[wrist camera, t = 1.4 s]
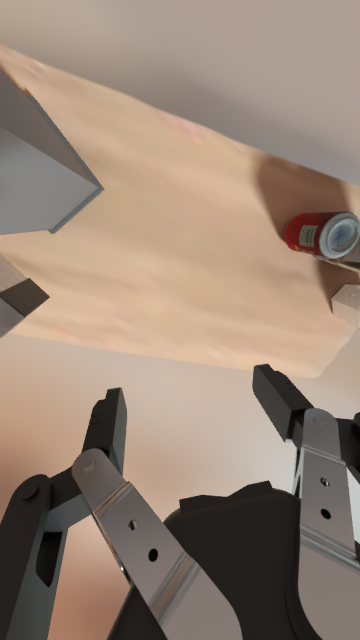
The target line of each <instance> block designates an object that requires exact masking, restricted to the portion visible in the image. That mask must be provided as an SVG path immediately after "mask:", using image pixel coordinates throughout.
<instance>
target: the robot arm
mask: <svg viewBox="0 0 360 640" xmlns="http://www.w3.org/2000/svg"><path fill="white" fill-rule="evenodd" d="M12 329H13V328H12ZM12 329H11V330H12ZM11 330H10V331H11ZM7 333H8V332H7ZM7 333H6V334H7ZM6 334H5V335H6ZM2 337H3V336H2ZM2 337H1V338H2ZM252 386H253V391H254V394H255V396H256V398H257V399H258V401H259V402H260V404H261V405H262V407H263V409H264V410H265V412H266V414H267V415H268V417H269V418H270V420H271V422H272V423H273V425H274V426H275V428H276V430H277V431H278V432H279V434H280V436H281V438H282V439H283V441H284V442H285V443H289V442H293V443H294V444H295V446H296V447H297V449H296V457H295V469H294V480H293V488H292V494H290V493H288V492H286V491H283V490H279V489H275V488H272V486H271V484H270V482H269V481H264V482H260V483H255V484H250V485H247V486H245V487H243V488H242V489H240V490H238V491H237V492H235V493H233V494H232V495H230V496H228V497H221V496H209V495H199V496H194V497H190V498H185V499H180V500H179V502H180V508H179V509H177V510H175V511H174V512H173V513H172V514H170V515H169V516H168V517H167V518H166V520H165V521H164V522H161V520H160V519H159V517H158V516H157V515H156V514H155V512H154V511H153V510H152V509H151V507H150V506H149V505H148V503H147V502H146V501H145V500H144V499H143V497H142V496H141V495H140V493H139V492H138V491H137V489H136V488H135V487H134V486H133V485H132V483H130V482H129V481H128V482H126V481H125V480H124V478H123V477H122V476H123V463H124V449H125V437H126V425H127V424H126V423H127V408H126V404H125V400H124V396H123V391H122V388H120V387H119V388H113V389H108V390H107V394H106V398H105V399H104V400H99V401H98V402H97V403H96V405H95V406H94V407H93V410H92V414H91V418H90V422H89V426H88V430H87V433H86V437H85V441H84V445H83V449H82V452H81V454H80V455H79V456H78V457H77V458H76V460H75V461H74V463H73V465H72V466H71V467H70V468H68V469H67V470H65V471H63V472H61V473H59V474H57V475H55V476H53V477H51V478H48V477H47V476H46V475H43V474H39V475H35V476H32V477H30V478H28V479H27V480H25V481H24V482H23V483H22V484H21V485H20V486H19V487H18V488H17V489H16V490H15V492H14V493H13V495H12V497H11V500H10V502H9V505H8V507H7V509H6V512H5V514H4V516H3V519H2V521H1V524H0V640H47V637H48V632H49V626H50V621H51V616H52V611H53V606H54V600H55V595H56V589H57V585H58V580H59V574H60V569H61V564H62V558H63V553H64V548H65V542H66V537H67V532H68V528H69V527H70V526H72V525H74V524H75V523H77V522H79V521H80V520H82V519H84V518H86V517H87V516H89V515H92V517H93V519H94V521H95V522H96V525H97V526H98V528H99V530H100V532H101V533H102V535H103V537H104V539H105V541H106V543H107V544H108V546H109V548H110V550H111V552H112V554H113V555H114V557H115V559H116V561H117V563H118V565H119V567H120V569H121V571H122V572H123V574H124V576H125V578H126V580H127V581H128V583H129V585H130V587H131V588H130V590H129V592H128V595H127V597H126V599H125V601H124V603H123V605H122V607H121V609H120V612H119V614H118V616H117V618H116V620H115V622H114V625H113V627H112V629H111V631H110V633H109V635H108V637H107V639H106V640H360V544H359V543H358V542H357V541H355V540H354V534H353V525H352V516H351V506H350V497H349V487H348V478H347V469H346V467H347V468H348V469H349V471H350V472H351V473H352V475H353V476H354V477H355V479H356V480H357V481H358V483H359V484H360V412H359V413H357V414H356V415H355V416H354V419H353V420H350V419H340V418H334V417H333V416H332V415H331V414H330V413H328V412H327V411H325V410H322V409H318V408H314V407H313V405H312V404H311V403H310V402H309V401H308V400H307V399H306V398H305V397H304V395H303V394H302V393H301V392H300V391H299V390H298V389H297V388H296V387H295V385H294V384H293V383H292V382H291V381H290V380H289V379H288V377H287V376H286V375H284V374H282V373H281V372H279V371H274V370H273V369H272V368H271V367H270V365H269V364H262V365H256V366H254V374H253V385H252Z"/></svg>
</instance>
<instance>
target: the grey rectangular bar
mask: <svg viewBox="0 0 360 640" xmlns="http://www.w3.org/2000/svg"><path fill="white" fill-rule="evenodd" d="M48 298H50V296H49V295H47V294H46V293H45V292H44V291H43V290H42V289H41V288H40V287H39V286H38V285H37V284H35V283H34V282H33V281H32V280H31V279H30V278H27V277H25V276H24V275H23V274H22V273H21V272H20V271H19V270H18V269H17V268H16V267H14V266H13V265H12V264H11V263H10V262H9V261H8V260H7V259H6V258H5V257H4V256H2V255H1V254H0V338H1V337H2V336H4V335H5V334H6V333H7V332H9V331H10V330H11V329H12V328H14V327H15V326H16V325H17V324H18V323H20V322H21V321H22V320H23V319H24V318H26V317H27V316H28V315H29V314H30V313H32V312H33V311H34V310H35V309H36V308H38V307H39V306H40V305H41V304H42V303H44V302H45V301H46V300H47V299H48Z"/></svg>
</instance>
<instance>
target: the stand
mask: <svg viewBox="0 0 360 640" xmlns="http://www.w3.org/2000/svg"><path fill="white" fill-rule="evenodd" d="M103 190H104V188H103V187H102V185H101V184H100V183H99V181H98V180H97V179H96V177H95V176H94V175H93V174H92V172H91V171H90V170H89V168H88V167H87V166H86V164H85V163H84V162H83V160H82V159H81V158H80V157H79V155H78V154H77V153H76V151H75V150H74V149H73V147H72V146H71V145H70V143H69V142H68V141H67V140H66V138H65V137H64V136H63V134H62V133H61V132H60V130H59V129H58V128H57V127H56V125H55V124H54V123H53V121H52V120H51V119H50V117H49V116H48V115H47V113H46V112H45V111H44V110H43V108H42V107H41V106H40V104H39V103H38V102H37V100H36V99H35V98H34V97H33V96H31V97H30V98H28V97H27V96H26V95H25V94H24V93H23V92H22V91H21V90H20V89H19V88H18V87H17V86H16V85H15V84H14V83H13V82H12V81H11V80H10V79H9V78H8V77H7V76H6V75H5V74H4V73H3V72H2V71H1V70H0V235H5V234H14V233H23V232H33V231H42V230H48V231H49V232H50V233H51V234H53V233H56V232H57V231H58V230H59V229H60V228H61V227H62V226H64V225H65V224H66V223H67V222H68V221H69V220H70V219H71V218H73V217H74V216H75V215H76V214H77V213H78V212H79V211H81V210H82V209H83V208H84V207H85V206H86V205H87V204H88V203H90V202H91V201H92V200H93V199H94V198H95V197H96V196H97V195H99V194H100V193H101V192H102V191H103Z"/></svg>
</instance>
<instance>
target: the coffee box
mask: <svg viewBox="0 0 360 640" xmlns="http://www.w3.org/2000/svg"><path fill="white" fill-rule="evenodd" d="M314 257H315V258H317V259H320V260H322V261H325V262H327V263H330V264H332V265H334V266H337V267H339V268H342V269H344V270H348V271H352V272H355V273H359V274H360V236H359V239H358V241H357V243H356V245H355V246H354V247H353V248H352V249H351V250H350V251H349V252H348V253H347V254H345V255H344V256H342V257H339V258H335V259H331V258H326V257H321V256H317V255H314Z"/></svg>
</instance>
